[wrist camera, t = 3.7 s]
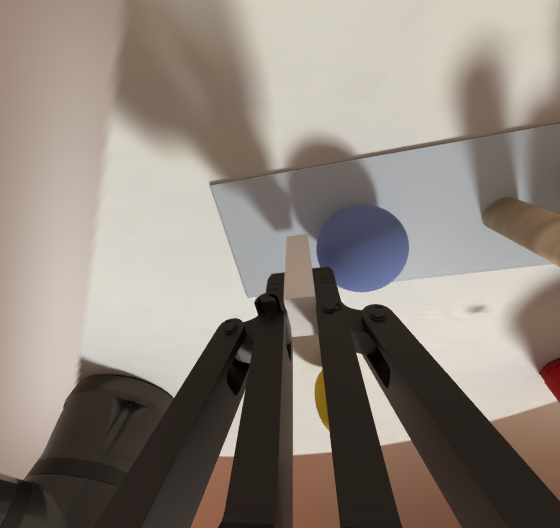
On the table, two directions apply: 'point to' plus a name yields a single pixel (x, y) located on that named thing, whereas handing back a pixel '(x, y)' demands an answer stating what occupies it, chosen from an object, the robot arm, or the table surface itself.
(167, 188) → the table surface
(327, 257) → the ball
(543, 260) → the plate
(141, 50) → the table surface
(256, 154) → the table surface
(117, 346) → the table surface
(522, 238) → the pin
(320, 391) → the lemon
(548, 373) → the plastic cup
